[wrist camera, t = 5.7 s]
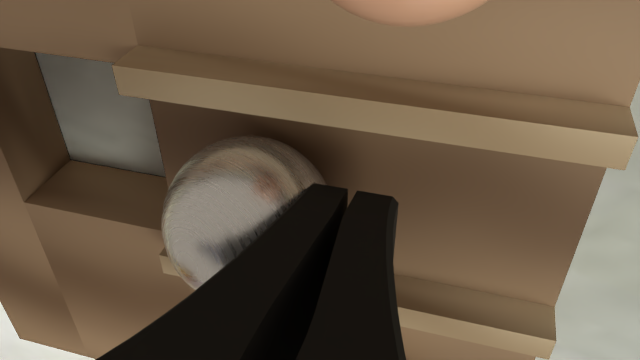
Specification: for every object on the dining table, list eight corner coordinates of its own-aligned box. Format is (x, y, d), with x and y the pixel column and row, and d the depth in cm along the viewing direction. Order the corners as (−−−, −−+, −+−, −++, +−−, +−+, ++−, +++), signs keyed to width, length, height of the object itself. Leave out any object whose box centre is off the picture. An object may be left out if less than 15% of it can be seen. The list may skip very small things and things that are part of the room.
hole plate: (497, 404, 18) (492, 498, 15) (56, 295, 21) (1, 360, 19) (781, -445, 7) (909, -539, 4) (-231, -372, 10) (-442, -405, 8)
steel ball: (360, 275, 12) (261, 375, 10) (245, 220, 13) (135, 295, 11) (373, 139, 10) (257, 222, 8) (240, 94, 12) (110, 152, 9)
